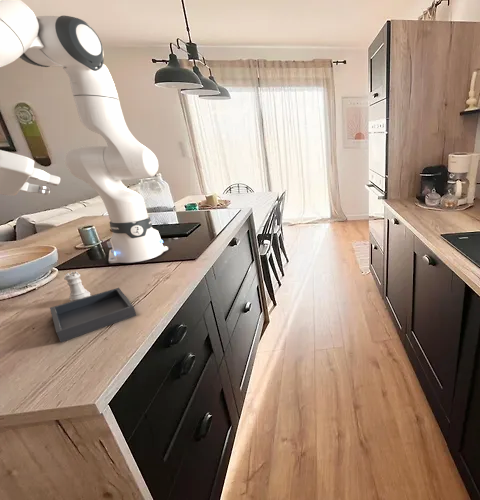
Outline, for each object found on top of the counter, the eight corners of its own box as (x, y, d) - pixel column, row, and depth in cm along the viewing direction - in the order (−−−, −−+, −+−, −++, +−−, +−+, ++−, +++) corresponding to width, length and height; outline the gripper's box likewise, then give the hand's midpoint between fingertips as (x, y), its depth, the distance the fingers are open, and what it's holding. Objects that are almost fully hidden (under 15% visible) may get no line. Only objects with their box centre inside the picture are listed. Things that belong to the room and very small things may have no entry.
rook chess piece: (96, 297, 79) (86, 271, 76) (77, 305, 75) (66, 278, 72) (85, 295, 80) (75, 269, 77) (66, 303, 76) (55, 275, 73)
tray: (53, 316, 70) (49, 307, 69) (121, 295, 80) (118, 287, 79) (60, 342, 61) (56, 332, 60) (136, 315, 70) (133, 306, 70)
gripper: (-37, 129, 51) (69, 161, 62) (-43, 162, 62) (47, 184, 73) (-47, 161, 50) (63, 188, 61) (-52, 189, 61) (42, 208, 72)
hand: (54, 186), depth 67 cm, fingers open, 8 cm apart
